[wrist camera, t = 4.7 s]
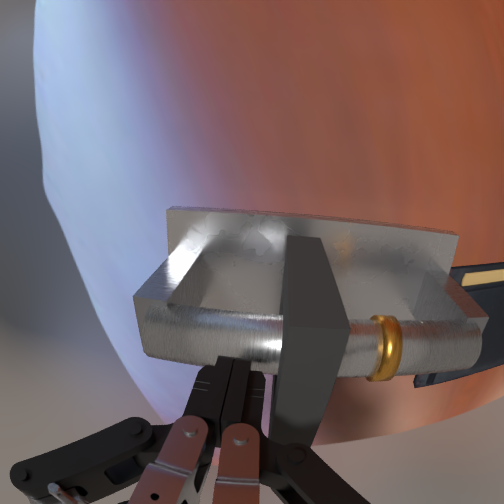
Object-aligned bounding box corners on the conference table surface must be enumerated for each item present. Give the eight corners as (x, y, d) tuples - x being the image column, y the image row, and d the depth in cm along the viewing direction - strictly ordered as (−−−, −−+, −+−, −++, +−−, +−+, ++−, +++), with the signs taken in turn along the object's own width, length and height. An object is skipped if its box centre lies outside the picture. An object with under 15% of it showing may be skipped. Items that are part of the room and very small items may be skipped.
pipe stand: (451, 231, 19) (527, 287, 10) (420, 334, 23) (460, 412, 14) (172, 206, 21) (97, 256, 12) (179, 319, 24) (135, 402, 15)
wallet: (412, 396, 24) (454, 266, 19) (407, 384, 26) (444, 257, 21) (527, 364, 22) (567, 259, 16) (521, 356, 24) (558, 253, 18)
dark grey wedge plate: (320, 237, 17) (351, 329, 8) (301, 354, 20) (304, 460, 12) (286, 234, 17) (288, 326, 9) (274, 352, 20) (266, 458, 12)
